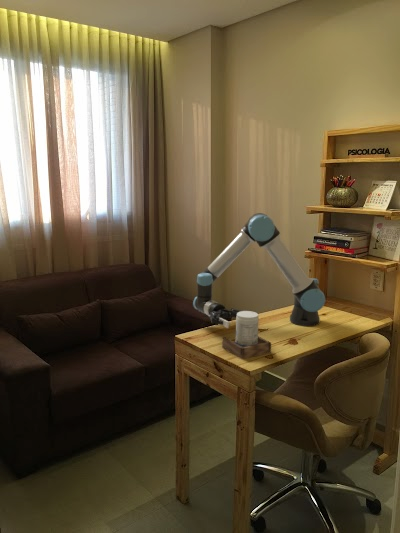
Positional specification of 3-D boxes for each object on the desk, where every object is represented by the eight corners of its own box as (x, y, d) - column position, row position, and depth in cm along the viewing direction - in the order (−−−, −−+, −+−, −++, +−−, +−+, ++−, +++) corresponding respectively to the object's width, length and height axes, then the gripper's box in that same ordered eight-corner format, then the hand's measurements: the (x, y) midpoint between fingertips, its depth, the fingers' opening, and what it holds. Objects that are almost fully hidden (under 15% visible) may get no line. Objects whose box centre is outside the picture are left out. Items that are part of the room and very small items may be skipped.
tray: (249, 341, 207) (250, 332, 206) (270, 352, 194) (271, 342, 193) (222, 347, 200) (222, 337, 199) (241, 359, 187) (242, 348, 186)
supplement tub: (235, 341, 202) (236, 310, 199) (257, 343, 201) (258, 311, 198) (235, 350, 193) (236, 316, 190) (257, 351, 192) (258, 317, 189)
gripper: (236, 314, 223) (263, 326, 205) (192, 321, 211) (216, 335, 193) (236, 299, 222) (264, 310, 204) (192, 306, 209) (217, 318, 191)
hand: (241, 322), depth 198 cm, fingers open, 13 cm apart
